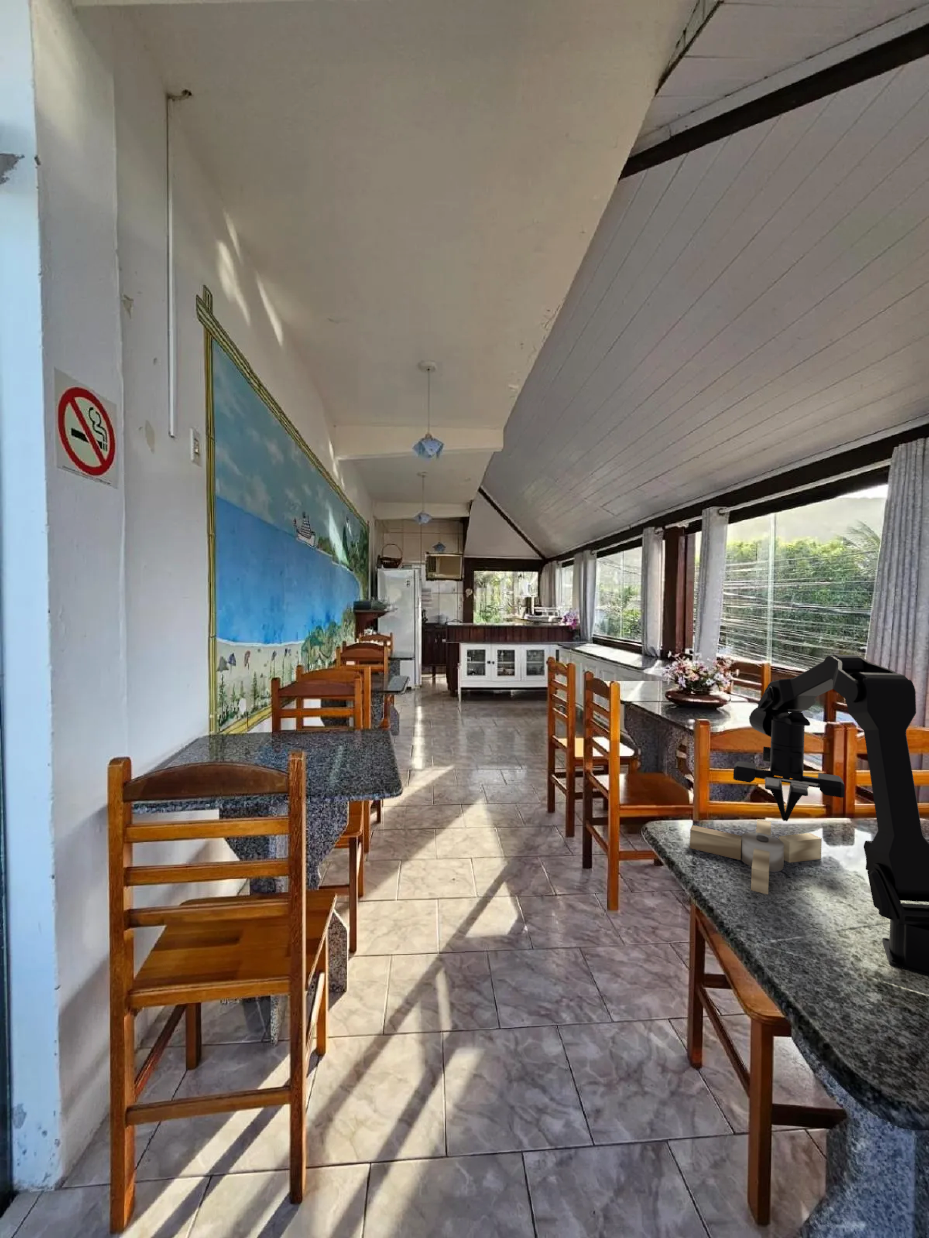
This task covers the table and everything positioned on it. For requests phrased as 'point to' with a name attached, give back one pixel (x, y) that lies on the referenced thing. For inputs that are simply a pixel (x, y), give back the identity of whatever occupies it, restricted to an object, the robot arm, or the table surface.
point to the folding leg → (801, 847)
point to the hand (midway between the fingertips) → (785, 820)
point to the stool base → (744, 850)
